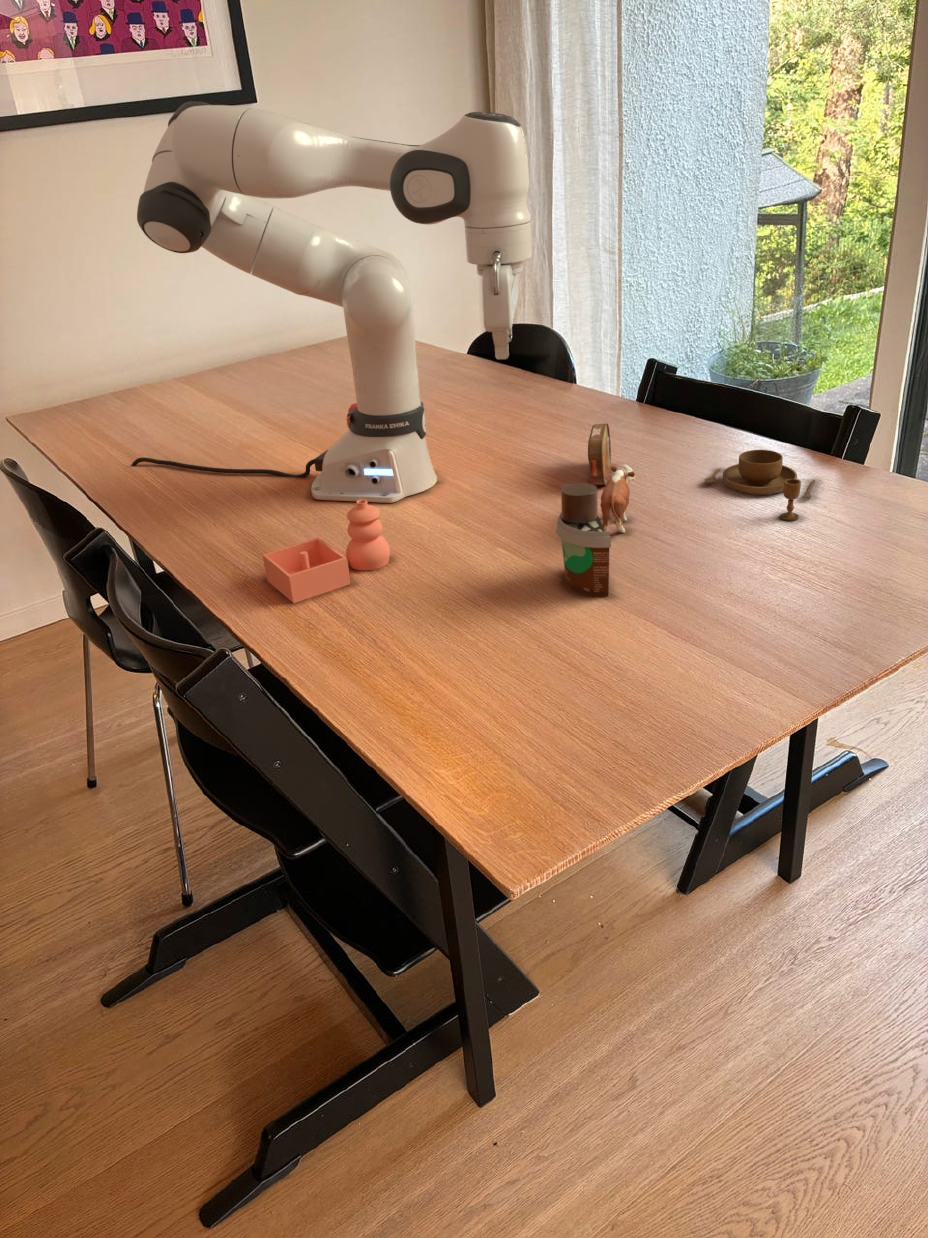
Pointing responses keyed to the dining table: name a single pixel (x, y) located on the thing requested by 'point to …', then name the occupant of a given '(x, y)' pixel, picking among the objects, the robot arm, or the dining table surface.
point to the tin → (599, 454)
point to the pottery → (328, 558)
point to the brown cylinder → (579, 503)
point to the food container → (585, 556)
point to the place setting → (763, 478)
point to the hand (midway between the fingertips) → (504, 349)
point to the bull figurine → (616, 496)
